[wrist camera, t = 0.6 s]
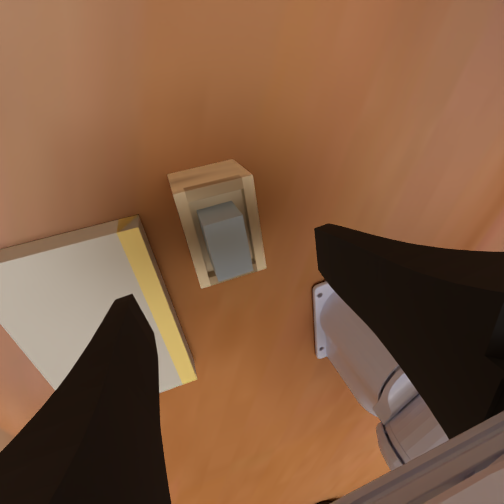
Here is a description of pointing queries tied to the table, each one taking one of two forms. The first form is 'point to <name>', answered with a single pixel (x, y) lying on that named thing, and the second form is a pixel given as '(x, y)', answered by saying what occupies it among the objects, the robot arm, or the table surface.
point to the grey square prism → (225, 240)
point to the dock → (87, 297)
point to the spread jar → (324, 502)
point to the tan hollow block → (209, 194)
